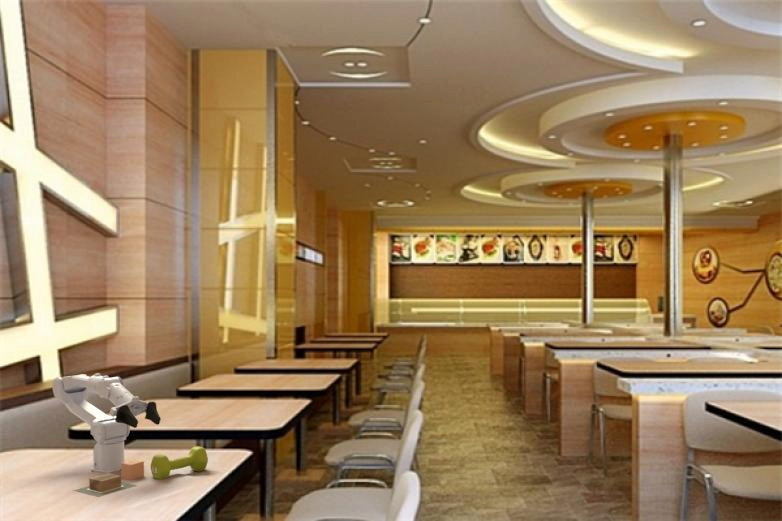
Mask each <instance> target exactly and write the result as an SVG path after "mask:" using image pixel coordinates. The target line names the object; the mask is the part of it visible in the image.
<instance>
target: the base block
mask: <svg viewBox="0 0 782 521" xmlns="http://www.w3.org/2000/svg"><path fill="white" fill-rule="evenodd" d="M88 480H89V482H88V483H89V484H88V486H89V489H91V490H95V491H99V492H104V491H108V490H111V489H115V488H118V487H121V482H122V475H118V474H114V473H111V472H110V473H105V474H101V475H97V476H93V477H89V479H88Z"/></svg>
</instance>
